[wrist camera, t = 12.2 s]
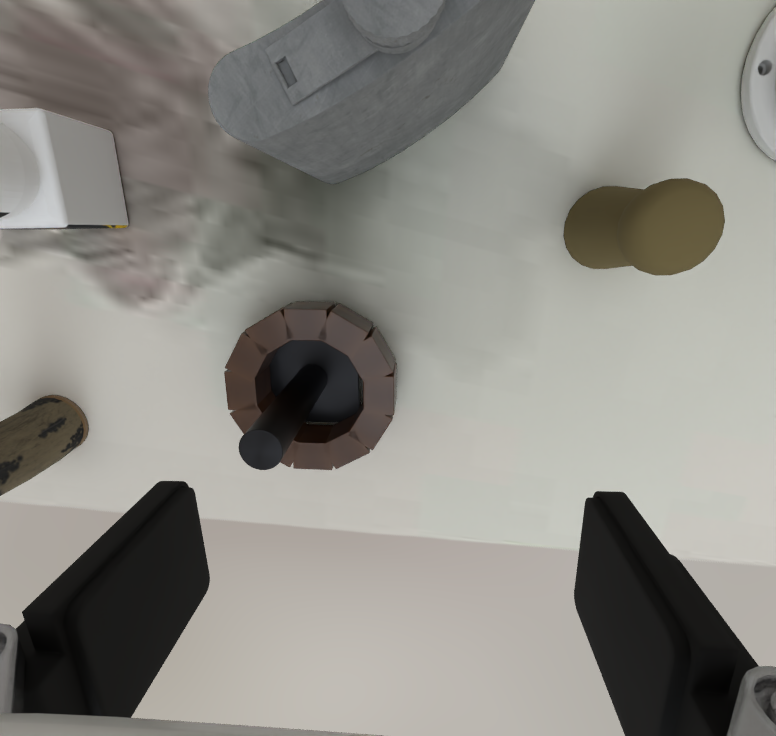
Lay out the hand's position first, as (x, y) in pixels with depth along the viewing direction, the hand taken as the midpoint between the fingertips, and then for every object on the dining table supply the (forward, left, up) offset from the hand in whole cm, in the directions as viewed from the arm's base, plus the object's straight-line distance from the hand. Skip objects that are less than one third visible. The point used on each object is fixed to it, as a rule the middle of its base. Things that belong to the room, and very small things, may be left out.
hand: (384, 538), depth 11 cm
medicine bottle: (+26, -11, -28) cm, 40 cm away
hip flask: (0, -15, -28) cm, 32 cm away
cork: (-15, -7, -28) cm, 32 cm away
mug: (+33, +9, -28) cm, 44 cm away
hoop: (+8, +5, -27) cm, 28 cm away
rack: (+8, +5, -28) cm, 30 cm away
